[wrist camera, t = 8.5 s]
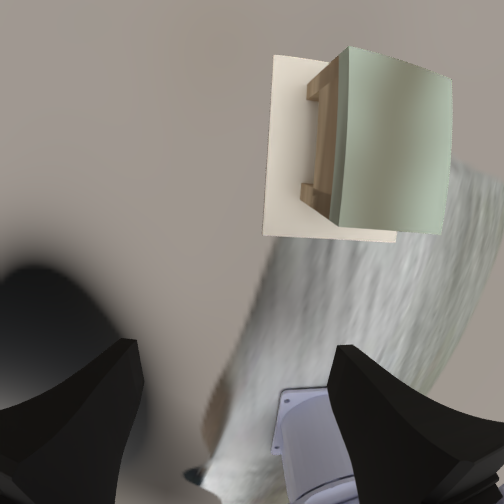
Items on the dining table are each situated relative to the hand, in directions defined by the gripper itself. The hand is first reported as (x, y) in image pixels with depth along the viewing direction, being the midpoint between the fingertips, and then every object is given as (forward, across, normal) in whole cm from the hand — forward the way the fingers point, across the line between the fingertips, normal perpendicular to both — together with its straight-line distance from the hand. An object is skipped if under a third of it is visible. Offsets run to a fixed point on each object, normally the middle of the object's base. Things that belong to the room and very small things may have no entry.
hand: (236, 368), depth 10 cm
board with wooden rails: (+9, -6, -8) cm, 14 cm away
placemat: (+9, -6, -8) cm, 14 cm away
